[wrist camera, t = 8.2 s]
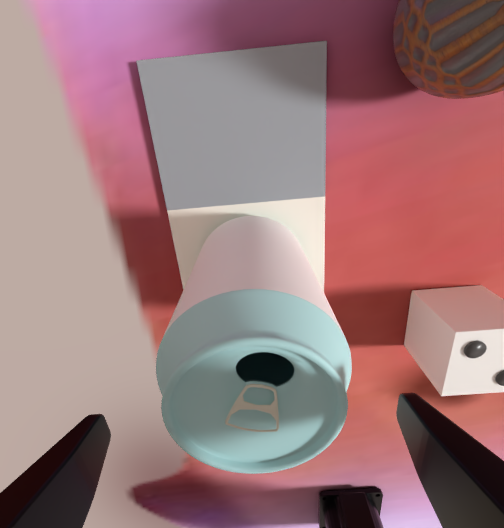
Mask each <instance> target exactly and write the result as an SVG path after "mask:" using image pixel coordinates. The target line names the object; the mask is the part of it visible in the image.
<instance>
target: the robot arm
mask: <svg viewBox="0 0 504 528" xmlns="http://www.w3.org/2000/svg"><path fill="white" fill-rule="evenodd" d="M397 420H398V423H399V426H400V428H401V431H402V434H403V436H404V439H405V442H406V445H407V447H408V450H409V453H410V455H411V458H412V461H413V463H414V466H415V469H416V471H417V474H418V476H419V479H420V481H421V483H422V485H423V488H424V490H425V492H426V494H427V496H428V498H429V500H430V502H431V504H432V506H433V508H434V511H435V513H436V515H437V517H438V519H439V521H440V523H441V525H442V527H443V528H504V461H503V460H502V459H500V458H499V457H498V456H497V455H495V454H494V453H493V452H491V451H490V450H489V449H487V448H486V447H485V446H484V445H482V444H481V443H480V442H478V441H477V440H476V439H474V438H473V437H472V436H471V435H469V434H468V433H467V432H465V431H464V430H463V429H461V428H460V427H459V426H457V425H456V424H455V423H454V422H452V421H451V420H450V419H448V418H447V417H446V416H444V415H443V414H442V413H441V412H439V411H438V410H437V409H435V408H434V407H433V406H431V405H430V404H429V403H428V402H426V401H425V400H424V399H422V398H421V397H420V396H418V395H417V394H415V393H402V394H400V395H399V400H398V406H397ZM110 437H111V434H110V429H109V427H108V425H107V422H106V420H105V417H104V416H103V415H102V414H94V415H88V416H87V417H85V418H84V419H83V420H82V421H81V422H80V423H79V424H77V425H76V426H75V427H74V428H73V429H72V430H71V431H70V432H69V433H67V434H66V435H65V436H64V437H63V438H62V439H61V440H59V441H58V442H57V443H56V444H55V445H54V446H53V447H52V448H51V449H49V450H48V451H47V452H46V453H45V454H44V455H43V456H42V457H40V458H39V459H38V460H37V461H36V462H35V463H34V464H33V465H31V466H30V467H29V468H28V469H27V470H26V471H25V472H24V473H22V474H21V475H20V476H19V477H18V478H17V479H16V480H15V481H14V482H12V483H11V484H10V485H9V486H8V487H7V488H6V489H5V490H3V491H2V492H1V493H0V528H82V527H83V525H84V522H85V519H86V517H87V514H88V512H89V509H90V506H91V503H92V500H93V498H94V495H95V491H96V488H97V485H98V481H99V477H100V474H101V470H102V467H103V463H104V460H105V457H106V453H107V449H108V446H109V442H110ZM382 497H383V494H382V491H381V489H379V488H371V489H354V490H336V491H322V492H320V493H319V528H383V525H382V522H381V519H380V510H381V504H382Z"/></svg>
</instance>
